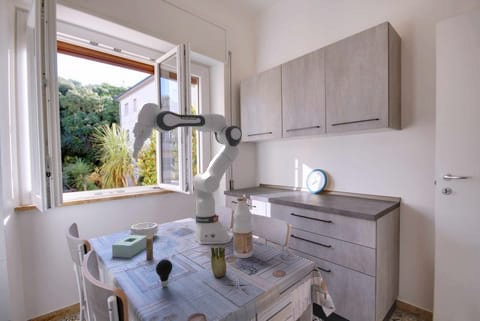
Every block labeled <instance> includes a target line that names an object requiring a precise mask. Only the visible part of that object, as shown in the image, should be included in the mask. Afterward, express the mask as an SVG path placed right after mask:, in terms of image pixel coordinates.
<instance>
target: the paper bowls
mask: <svg viewBox="0 0 480 321" xmlns="http://www.w3.org/2000/svg"><path fill="white" fill-rule="evenodd" d="M158 225H159V224H157V223H156V222H141V223H136V224H133V225H131V226H130V235H140V236H147V237H153V238H154V237H155V235H157V234H158V230H159V229H158V227H159V226H158Z"/></svg>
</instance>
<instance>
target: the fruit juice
mask: <svg viewBox="0 0 480 321" xmlns="http://www.w3.org/2000/svg"><path fill="white" fill-rule="evenodd" d="M236 201H237V204H236V208H235V210H234V212H233V218H232V219H233V226H232V228H233V229H232V230H233V232H232V233H233V234H232V239H233V255H234V257H236V258H237V259H247V258H250V257H252V256H253V253H254V249H253V245H254V244H253V239H254V238H253V224H252V217H253V216H252V212H251V211H250V208H249V205H248V197H246V196H245V197H244V196H240V197H237V199H236Z"/></svg>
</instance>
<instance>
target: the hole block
mask: <svg viewBox="0 0 480 321" xmlns="http://www.w3.org/2000/svg"><path fill="white" fill-rule="evenodd" d="M146 238H147V236H140V235H131V234H130V235H129V236H127V237H125V238H122V239H121V240H119V241H118V240H117V241H116V242H115V243H112V244H111V246H112V247H111V251H112V252H111V253H112V254H111V255H112V256H114V258H125V259H131V258H132V257H134V256H135V255H137V254H139V253H140V252H141V251H144V250H146Z"/></svg>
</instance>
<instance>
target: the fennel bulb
mask: <svg viewBox="0 0 480 321" xmlns="http://www.w3.org/2000/svg"><path fill="white" fill-rule="evenodd" d="M210 253H211V258H210V261H211V262H210V263H211V264H210V265H211V271H212V273H213V275H214V277H215V278H223V277H224V276H225V275H227V274H226V273H227V263H226V262H227V261H226V256H225V255H226V246H222V245H218V246H211V247H210Z"/></svg>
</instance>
